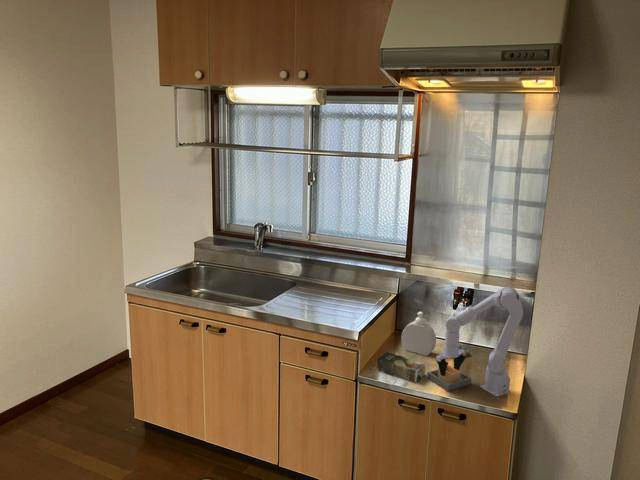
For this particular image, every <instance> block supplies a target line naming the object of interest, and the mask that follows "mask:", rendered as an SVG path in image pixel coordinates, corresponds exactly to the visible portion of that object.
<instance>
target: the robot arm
mask: <svg viewBox="0 0 640 480" xmlns="http://www.w3.org/2000/svg"><path fill="white" fill-rule="evenodd" d="M493 306H494V307H499V308H500V307H501V306H503V308H505V309H506V310H507V313H509V315H508V318H507V320H506V322H505V324H504V327H503V329H502V332H501V334H500V336H499V338H498V341H497V343H496V346H495V347H494V349H493V350H492V351H491V352H489V355H488V363H487V366H486V371H485V379H484V384H482V385H480V386H479V387H480V388H481V389H483V390H484V391H486V392H488V393H490V394H491V395H493V396H495V397H496V398H497V397H500V396H503V395H506V394H509V393H511V391H510V383H511V377H510V376H509V375H508V374H507V372H506V371H505V370H506V369H505V360H506V357H507V354H508V351H509V348H510V346H511V344H512V341H513V339H514V337H515V335H516V333H517V330H518V327H519V325H520V323H521V320H522V319H523V316H524V310H523V306H522V302H521V298H520V294H519V293H518V291H517V290H516V289H515V288H514V287H512V286H505V287H503V288H502V289H498V290H497V291H495V292H494V293H492V294H491V295H489V296H488V297H486V298H484V299H483V300H482V301H480V302H478V303H477V304H476V305H474V306H463V307H462V310H460V311H458V312H457V313H456V312H454V313H453V314H452V315H450V316H448V317H447V319H446V323H445V334H444V335H445V336H444V337H445V338H444V347H445V348H443V349H444V350H443V349H442V350H443V351H442V352H441V353H440V354H439V355H436V357H435V362H436V363H437V365H438V367H439V369H440V374H441V375H442V376H445V374H446V368H447V365H449V362H447V361H446V360H448V359H453V368H454V369H456V370H458V371H460V369H461V366H462V364H463V363H464V361H465V359H466V356H463V355H465V350H463V349H461V350H458V347H459V344H460V329H461V327H463V326H465V325H468V324H469V323H471V322H473V321H475V319H477V317H478V316H477V315H478V314H480V313H482V312H483V311H486V310H488V309H489V308H491V307H493Z"/></svg>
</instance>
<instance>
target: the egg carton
mask: <svg viewBox="0 0 640 480" xmlns="http://www.w3.org/2000/svg"><path fill="white" fill-rule="evenodd" d="M444 348H445V346H444ZM444 348H443V349H442V350H444ZM461 349H463V350H465V355H463V356H464V357H467V353H468V352H469V351H470V350H469V349H467V347H465V346H464V345H462V344H461V343H459V347H458V350H461Z"/></svg>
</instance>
